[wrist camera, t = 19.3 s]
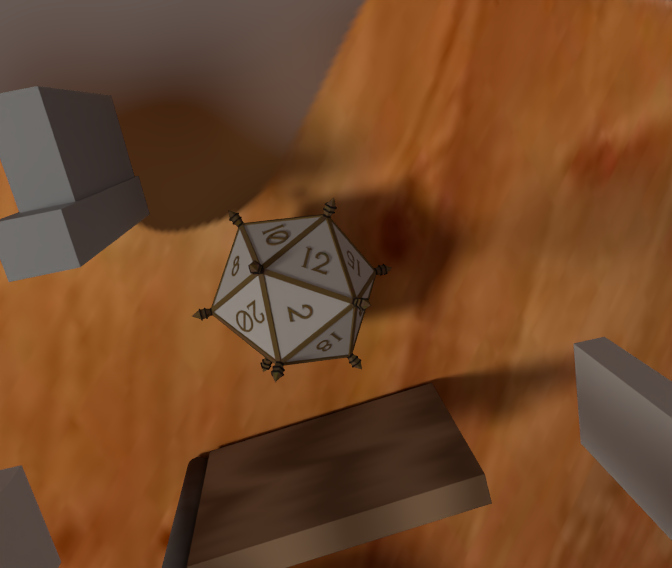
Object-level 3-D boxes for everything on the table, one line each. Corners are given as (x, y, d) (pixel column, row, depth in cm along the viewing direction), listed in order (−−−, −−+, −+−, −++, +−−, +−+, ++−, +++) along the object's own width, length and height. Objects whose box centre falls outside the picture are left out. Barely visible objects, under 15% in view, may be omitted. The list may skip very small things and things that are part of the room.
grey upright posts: (236, 514, 35) (219, 682, 25) (198, 522, 35) (164, 695, 25) (115, 94, 28) (17, 81, 18) (66, 104, 28) (-61, 96, 17)
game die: (294, 286, 36) (258, 437, 29) (198, 193, 30) (131, 352, 24) (424, 242, 31) (415, 411, 25) (337, 125, 26) (299, 299, 20)
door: (202, 503, 34) (176, 639, 25) (183, 459, 34) (149, 585, 25) (443, 428, 35) (502, 537, 26) (431, 383, 34) (487, 479, 25)
